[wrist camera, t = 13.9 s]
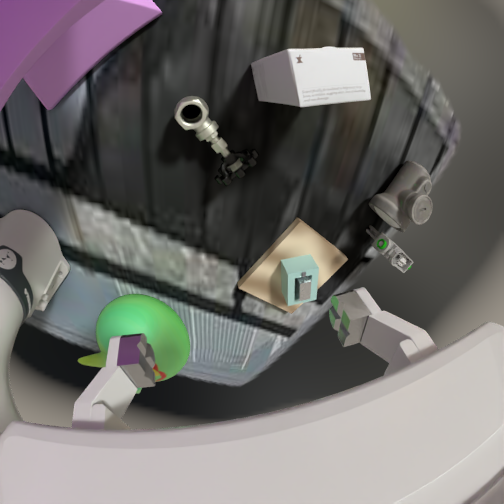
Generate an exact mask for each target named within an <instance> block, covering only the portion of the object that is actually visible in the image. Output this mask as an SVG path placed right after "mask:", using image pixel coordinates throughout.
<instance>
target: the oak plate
mask: <svg viewBox="0 0 504 504" xmlns="http://www.w3.org/2000/svg"><path fill="white" fill-rule="evenodd" d="M309 254H311V256H312V257H313V259H314V261H315V262H316V264H317V265H318V267H319V274H318V285H317V289H318V288H320V287H321V286H322V285H323V284H324V283H325V282H326V281H327V280H328V279H329V278H330V277H331V276H332V275H333V274H334V273H335V272H336V271H337V270H338V269H339V268H340V267H341V266H342V265H343V264H344V263H345V262H346V261H347V260H348V258H347V257H346V256H345V255H344V254H343V253H342V252H341V251H340V250H338V249H337V248H336V247H335V246H333V245H332V244H331V243H330V242H328V241H327V240H326V239H325V238H323V237H322V236H321V235H320V234H318V233H317V232H316V231H315V230H313V229H312V228H311V227H310V226H308V225H307V224H306V223H304V222H303V221H302V220H301V219H299V218H298V217H297V218H296V219H295V221H294V222H293V223H292V224H291V225H290V226H289V227H288V228H287V229H286V230H285V231H284V233H283V234H282V235H281V236H280V237H279V238H278V239H277V240H276V241H275V242H274V243H273V245H272V246H271V247H270V248H269V249H268V250H267V251H266V252H265V253H264V254H263V255H262V256H261V258H260V259H259V260H258V261H257V262H256V263H255V264H254V265H253V266H252V267H251V268H250V269H249V271H248V272H247V273H246V274H245V275H244V276H243V277H242V278H241V279H240V280H239V281H238V282H237V283H238V287H239V288H240V289H242V290H244V291H246V292H248V293H250V294H252V295H254V296H256V297H258V298H260V299H262V300H264V301H266V302H268V303H270V304H272V305H275V306H277V307H279V308H281V309H283V310H285V311H287V312H289V313H291V314H292V313H293V312H294V311H295V310H296V309H297V308H298V307H299V306H300V305H302V304H303V303H299V304H295V305H291V306H288V305H287V303H286V301H285V298H284V296H283V294H282V286H281V260H283V259H288V258H293V257H298V256H303V255H309Z"/></svg>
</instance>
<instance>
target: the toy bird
mask: <svg viewBox="0 0 504 504" xmlns="http://www.w3.org/2000/svg"><path fill="white" fill-rule="evenodd" d="M140 333H144V334H145V336H146V337H147V343H149V344H150V345H151V346H152V348H153V351H154V355H155V366H154V367H153V368H152V369H153V371H154V372H155V382H157V381H162V380H166V379H168V378H170V377H172V376H174V375H175V374H177V373H178V372H179V371H180V370H181V369H182V368H183V366H184V365H185V363H186V361H187V359H188V356H189V352H190V340H189V335H188V332H187V330H186V327H185V325H184V323H183V322H182V320H181V319H180V317H179V316H178V315H177V314H176V312H175V311H174V310H173V309H171V308H170V307H169V306H168V305H166V304H165V303H163V302H162V301H160V300H158V299H156V298H153V297H150V296H147V295H142V294H129V295H124V296H121V297H118V298H116V299H114V300H113V301H111V302H110V303H109V304H108V305H107V306H106V307H105V308H104V309H103V310H102V312H101V314H100V315H99V318H98V320H97V324H96V339H97V343H98V346H99V349H100V351H101V352H100V353H97V354H93V355H89V356H85V357H82V358H79V359H78V362H79V363H81V364H84V365H88V366H94V367H106V360H107V353H108V347H109V341H110V338H111V337H112V336H122V335H130V334H140ZM137 389H138V390H137V391H136V393H140V391H141V389H142V388H137Z"/></svg>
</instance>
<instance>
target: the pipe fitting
mask: <svg viewBox="0 0 504 504" xmlns="http://www.w3.org/2000/svg"><path fill="white" fill-rule="evenodd" d="M430 190H431V179H430V176H429V173H428V172H427V170H426V169H425V168H424V167H423V166H422V165H420V164H419V163H417V162H414V161H406V162H405V163H404V165H403V166H402V167H401V169H400V170H399V172H398V173H397V175H396V176H395V178H394V179H393V181H392V182H391V183H390V185H389V186H388V188H387V189H386V191H385V192H384V193H381V194H377V195H375V196H374V197H373V198H372V199H371V201H370V202H369V206H370V207H371V208H372V210H373V211H374V212H376V213H377V214H378V215H379V216H380V217H381V218H382V219H383V220H384V221H385V222H387V223H388V224H389V225H391V226H392V227H394V228H395V229H397V230H398V231H400V232H404V231H405V230H406V228H407V227H408V225H409V223H410V220H411V221H412V222H414V223H415V224H418V225H421V224H423V223H425V222H426V221H427V220H428V219H429V217H430V215H431V212H432V201H431V199H430V197H429V196H428V194H429V192H430Z"/></svg>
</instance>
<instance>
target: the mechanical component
mask: <svg viewBox="0 0 504 504" xmlns="http://www.w3.org/2000/svg"><path fill="white" fill-rule="evenodd" d="M369 227H370V230H369V229H366V232H367V233H368V234H369V235H370V236H371V237H372V238H373V239H374V240H375V241H374V242H373V243H372V246H373V247H374V248H375V249H376V250H377V251H378V252H379V253H381V254H383V255H384V256H385V257H386V258H387V260H389V262H390V263H391V264H392V265H393V266H396V267H397V268H398V269H399V270H401V271H402V272H403V273H404V272H405V271H406V270H409V269H410V268H411V265H412V263H413V261H412V260H411V259H410V258H409V257H408V256H407V255H406V254H405V253H404V252H403V251H402V250H401V249H400V248H399V247H398V246H397V245H396V244H395V243H394V242H393V241H391V240H390V239H389V238H388V237H387V236H386V235H384V234H383V233H382V232H381V234H380V233H379V232H378V231H377V230H376V229H375V228H374V227H373V226H371V225H370V226H369ZM373 234H374V235H375V234H377V237H375V236H376V235H375V236H374V235H373Z"/></svg>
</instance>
